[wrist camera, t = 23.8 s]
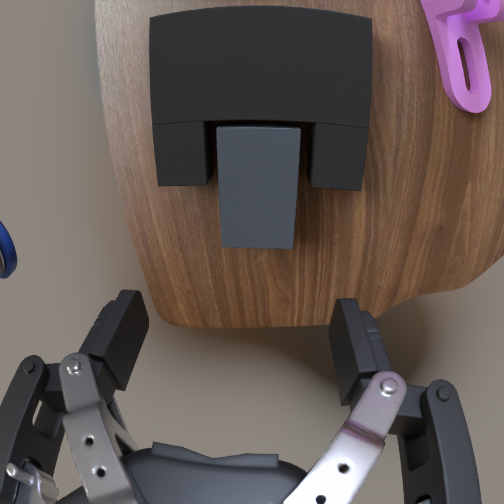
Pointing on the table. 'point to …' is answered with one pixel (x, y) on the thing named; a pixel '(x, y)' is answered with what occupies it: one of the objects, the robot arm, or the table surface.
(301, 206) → the table surface
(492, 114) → the table surface
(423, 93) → the table surface
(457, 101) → the bracket
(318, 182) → the base pad
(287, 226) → the pad
